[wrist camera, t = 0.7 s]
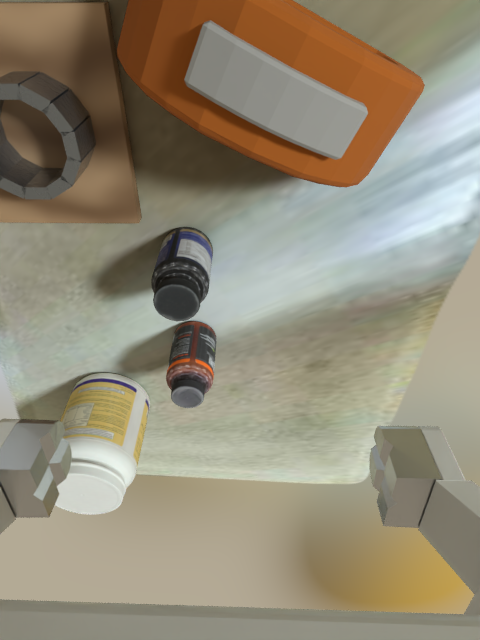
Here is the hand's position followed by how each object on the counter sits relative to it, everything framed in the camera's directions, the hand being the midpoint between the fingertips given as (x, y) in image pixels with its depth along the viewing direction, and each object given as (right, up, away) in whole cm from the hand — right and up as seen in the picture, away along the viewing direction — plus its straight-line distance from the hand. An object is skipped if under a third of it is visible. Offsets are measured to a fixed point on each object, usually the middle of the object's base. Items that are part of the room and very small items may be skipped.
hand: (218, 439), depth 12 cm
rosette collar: (-19, +22, +31) cm, 43 cm away
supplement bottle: (-6, +1, +50) cm, 51 cm away
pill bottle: (-6, +12, +42) cm, 44 cm away
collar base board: (-19, +23, +33) cm, 44 cm away
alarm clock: (+3, +27, +29) cm, 40 cm away
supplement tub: (-20, -9, +59) cm, 63 cm away
